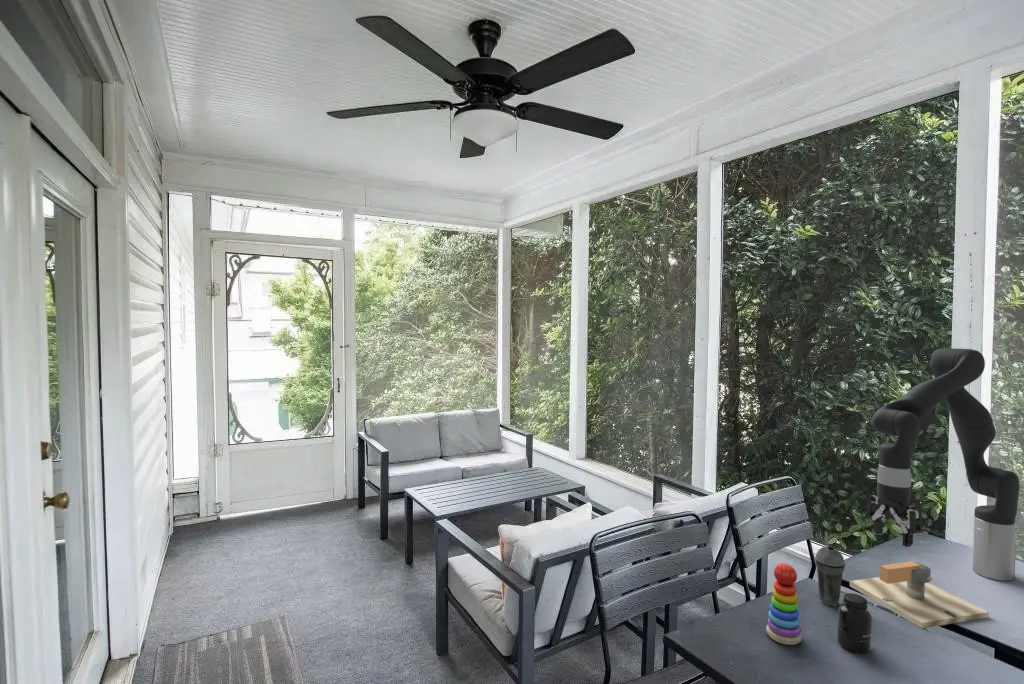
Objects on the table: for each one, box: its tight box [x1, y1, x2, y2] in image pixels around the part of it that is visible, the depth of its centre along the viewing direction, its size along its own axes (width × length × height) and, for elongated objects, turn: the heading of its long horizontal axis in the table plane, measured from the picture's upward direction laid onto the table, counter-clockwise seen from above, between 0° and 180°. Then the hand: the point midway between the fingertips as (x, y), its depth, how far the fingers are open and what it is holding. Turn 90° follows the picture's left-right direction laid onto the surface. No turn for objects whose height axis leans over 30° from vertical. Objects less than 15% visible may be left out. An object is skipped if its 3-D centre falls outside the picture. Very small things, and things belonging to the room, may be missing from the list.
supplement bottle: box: [837, 592, 873, 655], centre depth 127 cm, size 7×7×12 cm
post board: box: [849, 576, 990, 629], centre depth 147 cm, size 22×22×6 cm
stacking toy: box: [765, 562, 803, 646], centre depth 131 cm, size 8×8×19 cm
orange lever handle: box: [879, 560, 933, 584], centre depth 146 cm, size 14×8×4 cm, turn 102°
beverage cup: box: [814, 531, 846, 607], centre depth 147 cm, size 7×7×20 cm
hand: (892, 539), depth 145 cm, fingers open, 8 cm apart
